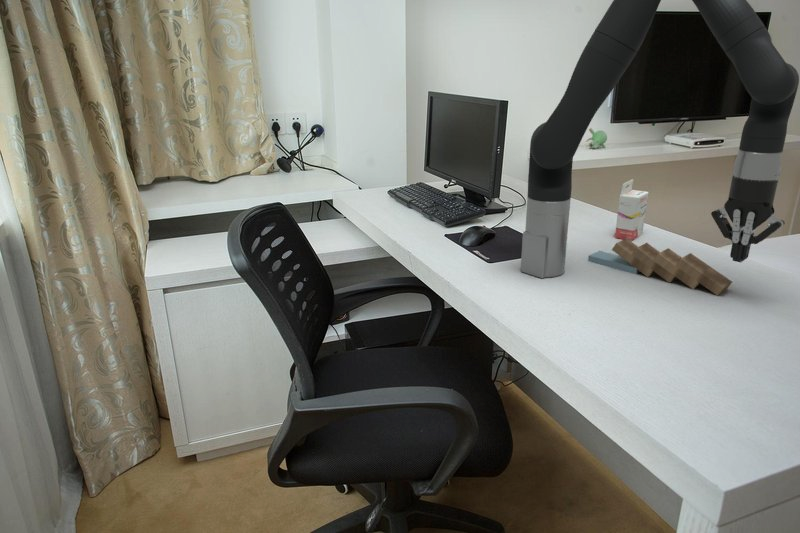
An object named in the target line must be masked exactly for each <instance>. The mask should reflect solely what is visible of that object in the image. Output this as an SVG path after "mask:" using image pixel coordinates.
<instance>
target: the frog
mask: <svg viewBox="0 0 800 533" xmlns="http://www.w3.org/2000/svg"><path fill="white" fill-rule="evenodd" d="M588 131H589V133H591V135H592V137H590V138H588V139H587V140H586V141H585V142H586V143H587V142H588V145H589V147H590V148H591V149H592V150H594V149H595V150H596V149H597V148H598V147H600V146H601V147H602V148H603V149H606V147H607V146H606V145H605V143H606V142H607V141H608V135H607V133H606V131H603V130H597V131H596V132H595V131H594V130H593V129H592V128H591V127H590V128H589V129H588ZM589 141H590V142H589Z"/></svg>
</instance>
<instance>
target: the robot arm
mask: <svg viewBox="0 0 800 533" xmlns="http://www.w3.org/2000/svg"><path fill="white" fill-rule="evenodd" d="M661 1H662V0H612V2H611V3H610V6H609V7H608V9H607V10H606V11H605V13H604V15H603V16H602V19H601V20H600V22H599V23H598V24H597V26H596V28H595V29H594V31H593V33H592V35H591V36H590V38H589V40H588V41H587V43H586V45H585V46H584V49H583V50H582V51H581V52H582V53H581V54H580V56H579V58H578V61H577V62H576V65H575V66H574V69H573V72H572V74H571V76H570V80H569V82H568V85H567V86H566V90H565V91H564V94H563V96H562V98H561V100H560V101H559V103H558V104H557V106H555V109H554V110H553V112H552V113H551V115H550V116H549V117H548V119H547V120H546V121H544V122H543V123H541V124H540V125H539V126H537V127H536V128H535V129H534V131H533V132H532V135H531V138H530V145H529V158H528V159H529V160H528V162H529V163H528V177H527V178H528V180H527V196H526V197H527V199H526V211H525V212H526V213H525V214H526V215H525V228H524V230H525V231H523V233H522V239H521V240H522V242H521V244H522V245H521V258H520V272H521V273H522V272H523V273H524V274H529V275H531V276H534V277H538V278H540V279H544V278H553V277H555V278H556V277H559V276H561V275H563V274H564V273H565V265H566V257H567V256H566V254H567V245H568V243H567V242H568V235H569V234H568V232H569V223H570V222H569V221H570V220H569V219H570V212H571V211H570V210H571V200H572V199H571V198H572V190H573V189H572V188H573V184H572V180H573V178H572V177H573V176H572V175H573V174H572V172H573V160H574V156H575V155H576V153H577V150H578V148H579V146H580V144H581V142H582V139H583V137H584V135H585V134H586V132H587V129H588V128H589V126H590V124H591V122H592V120H593V118H594V116H595V115H596V114H597V111H598V110H599V108H601V106H602V105H603V104H604V102H605V100H607V98H608V97H609V95H610V94H611V93H612V91H613V90H614V88H615V87H616V86H617V84H618V82H619V81H620V79H621V78H622V76H623V75H625V74H624V73H625V72H626V70H628V68H629V66H630V64H631V63H632V61H633V60H634V58H635V57H636V55H637V53H638V52H639V50H640V48H641V47H642V45H643V43H644V40H645V38H646V36H647V34H648V32H649V31H650V30H649V29H650V28H651V25H652V23H653V21H654V17H655V15H656V13H657V11H658V8H659V6H660V4H661ZM691 2H693V5H694V6H695V7H696V8H697V10H698V11H699V14H700V15H701V17H702V18H703V19H704V22H705V24H706V25H707V27H708V28H709V30H710V32H711V33H712V35H713V37H714V38H715V39H716V41H717V43H718V44H719V46H720V47H721V49H722V50H723V52H724V53H725V55H726V56H727V57H728V59H729V60H730V62H732V64H733V65H734V69H735V70H736V72H737V75H738V76H739V79H740V81H741V82H742V85H743V86H744V88H745V90H746V92H747V93H748V94H749V95H750V97H751V100H750V107H749V112H748V116H747V117H748V118H747V119H746V121H745V123H744V126H743V127H742V128H743V129H742V131H741V136H740V143H739V148H738V151H737V155H736V158H735V159H734V160H735V161H734V165H733V171H732V177H731V181H730V182H731V183H730V186H729V192H728V199H727V200H726V202H724V205H723V207H720V208H718V209H715V210H713V211H711V217H712V218H713V220H714V222H715V223H716V225H717V227H718V229H719V231H720V233H721V235H723V238H725V239H729V240H730V241H731V242H732V245H731V248H730V249H731V250H730V254H729V255H730V258H732V261H733V262H737V263H742V262H744V261H745V260H747V259H748V258H749V254H750V249H751V245H752V244H753V245H758V244H759V243H761V242H763V241H765V239H767V238H768V237H770V236H771V235H772V234H774V233H775V232H777V231H778V230H779V229H781V228H782V227H783V226H785V224H786V223H785V221H784V220H783V219H779V218H778V216H776V214H775V208H774V201H775V197H776V193H777V186H778V182H779V178H780V176H781V172H782V169H781V168H782V163H783V162H782V161H783V152H784V146H785V143H786V137H787V131H788V122H789V119H790V116H791V113H792V109H793V106H794V102H795V99H796V96H797V92H798V87H799V84H800V83H799V82H800V77H799V76H800V75H799V73H798V71H797V69H796V68H795V66H793V65H791V64H790V63H787V62H786V61H785V59H784V58H783V57H782V55H781V53H780V52H779V51H778V50H777V48H776V47H775V46H774V43H773V42H772V37H771V34H770V32H769V31H768V29H767V27H766V26H765V24H764V23H763V21H762V20H761V18H760V17H759V15H758V14H757V12H756V11H755V9H754V8H753V7H752V5H751V4H750V3H749V2H748V1H747V0H691ZM727 217H729V219H730V221H731V223H732V225H731V223H730V221H729V220H728V218H727ZM767 220H768V222H767V223H766V229H764V230H763V231H762V232H760V233H759V234H758V235H755V234H756V233H757V230H758V228H759V227H760V226H762V225H764V223H765V222H766V221H767Z"/></svg>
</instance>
